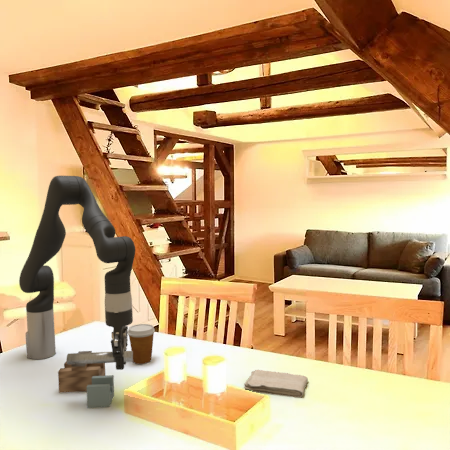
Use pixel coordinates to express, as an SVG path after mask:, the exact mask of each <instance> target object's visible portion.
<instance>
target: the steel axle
mask: <svg viewBox="0 0 450 450" xmlns="http://www.w3.org/2000/svg"><path fill="white" fill-rule="evenodd" d="M117 352H120V351H117ZM66 361H67V365H71V364H93V363H105V364H110V363H111V364H113V363H114V364H116V358H115V357H113V352H112V351H98V352H97V351H96V352H92V353H78V352H75V353H74V352H73V353H67V355H66ZM124 362H126V363H131V362H133V351H131V350H126V351H124Z"/></svg>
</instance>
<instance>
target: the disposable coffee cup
mask: <svg viewBox="0 0 450 450" xmlns="http://www.w3.org/2000/svg"><path fill="white" fill-rule="evenodd" d="M155 331H156V330H155V328H154V325H153V324H149V323H138V324H134V325H131V326H129V327H128V338H129V343H130V351H133V361H132V362H133V363H134V364H138V365H143V364H144V365H145V364H147V363H150V362H151V361H152V358H153V357H152V355H153V344H154V335H155V334H154V333H155Z"/></svg>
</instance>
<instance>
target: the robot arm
mask: <svg viewBox="0 0 450 450" xmlns="http://www.w3.org/2000/svg"><path fill="white" fill-rule="evenodd" d="M45 197H46V199H45V202H44V208H43V211H42V215H41V218H40V221H39V224H38V227H37V230H36V232H35V235H34V237H33V242H32V246H31V249H30V251H29V255H28V257H27V259H26V261H25V263H24V265H23V267H22V269H21V270H20V275H19V280H18V281H19V282H18V283H19V288H20V290H21V291H22V292H23V293H26V294H33V293H38V295H37V296H35V297H34V298H32V299H31V300H29V301H28V302H27V303H26V304H25V308H26V309H25V311H26V312H25V313H26V326H27V331H26V332H25V347H26V358H27V359H32V360H43V359H44V360H45V359H47V358H51V357H53V356H54V355H55V354H56V353H57V352H56V335H55V331H56V330H55V314H54V302H55V278H54V272H53V269H52V268H51V266H49V265H45V264H46V263H48V262H49V261H51V260H52V259H53V258H54V257H55V256H56V255H57V254H58V253H60V250H61V249H62V247H63V244H64V241H65V238H66V235H67V232H66V227H65V225H64V223H63V221H62V219H61V217H60V214H59V213H60V209H61V207H62V206H63V205H64V206H66V205H69V206H70V205H73V206H74V205H79V206H80V207H82V208H83V211H82V216H81V222H82V226H83V228H84V230H85V231H86V233H87V234H88V235H89V237H90V238H91V240H92V242H93V245H94V249H95V253H96V256H97V258H98V260H100V261H101V262H102V263H105V264H115V263H117V264H116V267H115V268H113V269H111V270H110V271H107V272H106V273H105V274H104V313H105V315H104V317H105V318H104V319H105V320H104V321H105V325H106V326H107V327H112V328H113V331H111V341H110V343H111V344H110V345H111V352H113V357H115V358H116V362H115V370H117V371H119V370H120V371H121V370H124V369H125V365H126V364H127V362H124V351H128V350H127V349H128V342H129V340H128V337H129V335H128V330H129V327H128V326H129V325H131V324H132V323H133V322H134V321H133V319H134V318H133V298H132V291H131V273H132V269H133V266H134V262H135V260H134V259H135V255H136V246H135V243H134V240H133V239H132V237H129V236H125V235H124V236H116V233H117V232H116V229H115V227H114V225H113V224H112V223H111V221H110V220H109V218H108V217H107V216H106V215H105V214H104V213H103V211H102V210H101V207H100V205H99V204H98V202H97V200H96V198H95V196H94V193H93V191H92V190H91V187H90V186H89V184H88V182H87V181H86V180H85V179H84V177H82V176H79V175H55V176H53V177H52V178H51V180H50V182H49V184H48V187H47V193H46V196H45ZM117 351H120V352H117Z"/></svg>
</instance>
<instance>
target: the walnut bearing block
mask: <svg viewBox="0 0 450 450" xmlns="http://www.w3.org/2000/svg"><path fill="white" fill-rule="evenodd" d="M77 353H93V352H92V350H83V351H81V350H80V351H78V352H77ZM63 365H64V366H63V368H62V367H60V369H59V370H58V371H57V374H58V375H57V377H58V393H61V394H62V393H77V392H78V393H79V392H80V393H81V392H87V385H92V377H93V376H106V363H93V364H71V365H67V360H66V361H65V362H64V364H63Z"/></svg>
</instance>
